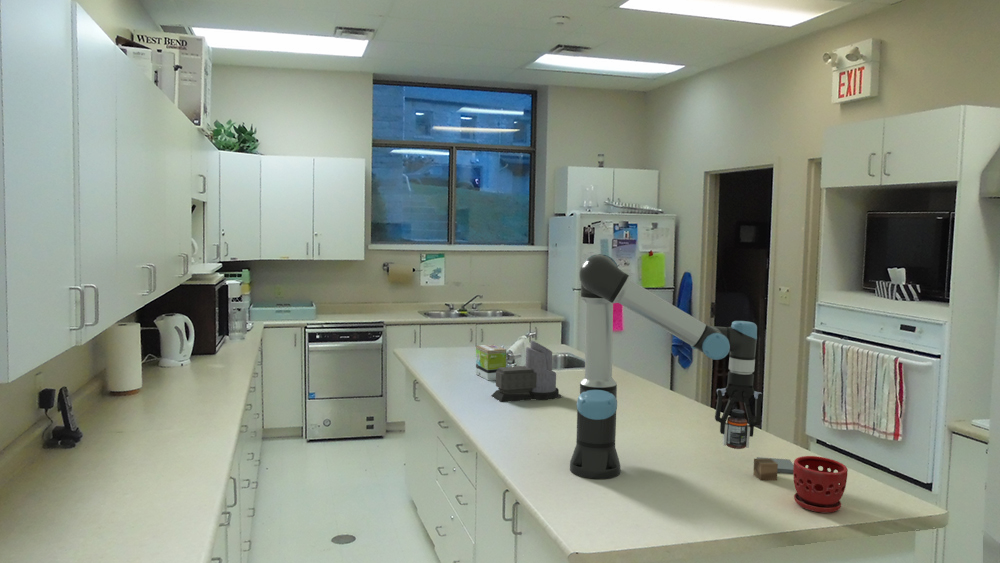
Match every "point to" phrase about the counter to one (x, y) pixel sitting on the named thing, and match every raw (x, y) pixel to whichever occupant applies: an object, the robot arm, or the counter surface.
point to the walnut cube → (765, 469)
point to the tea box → (489, 360)
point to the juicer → (528, 378)
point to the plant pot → (819, 483)
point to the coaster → (782, 465)
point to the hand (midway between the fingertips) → (735, 445)
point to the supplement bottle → (736, 429)
